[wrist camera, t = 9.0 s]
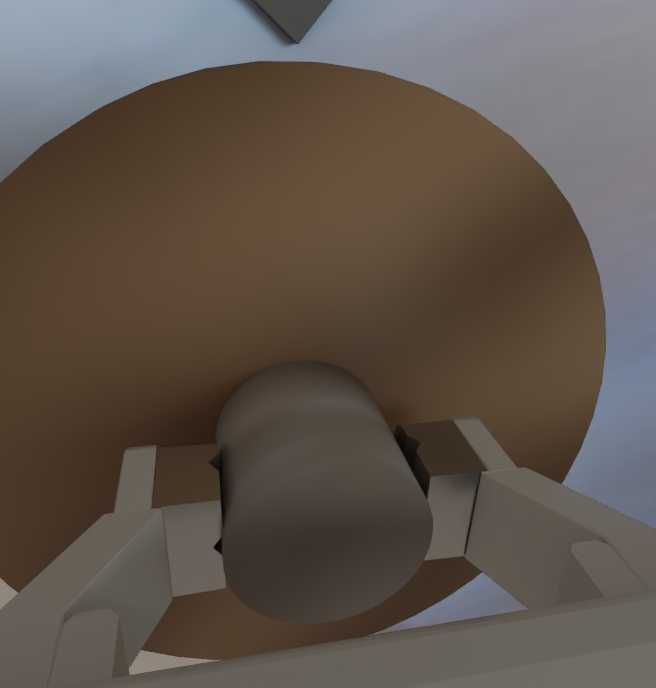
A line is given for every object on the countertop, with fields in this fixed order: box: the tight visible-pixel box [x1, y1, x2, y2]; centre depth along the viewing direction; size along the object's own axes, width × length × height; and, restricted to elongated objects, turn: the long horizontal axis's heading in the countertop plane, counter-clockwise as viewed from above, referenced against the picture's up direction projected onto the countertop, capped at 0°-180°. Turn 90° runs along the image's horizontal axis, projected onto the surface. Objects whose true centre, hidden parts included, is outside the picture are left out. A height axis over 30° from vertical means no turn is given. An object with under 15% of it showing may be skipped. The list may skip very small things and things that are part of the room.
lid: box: [0, 61, 606, 660], centre depth 10 cm, size 13×13×4 cm
